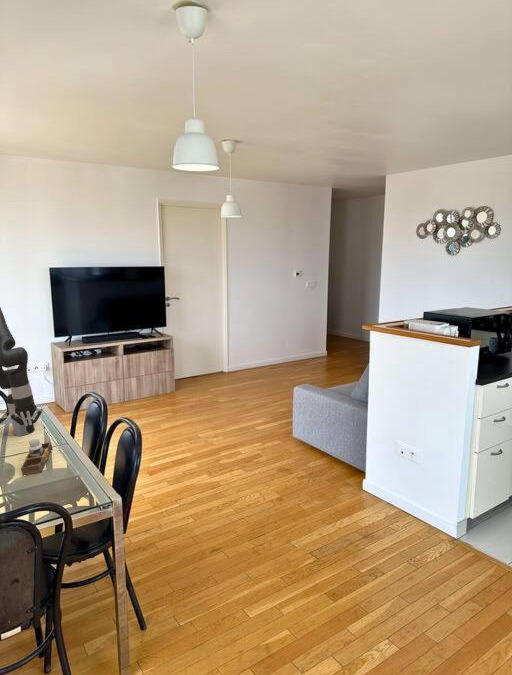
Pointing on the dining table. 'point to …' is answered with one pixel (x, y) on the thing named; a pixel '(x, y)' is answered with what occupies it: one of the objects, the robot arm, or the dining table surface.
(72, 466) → the dining table surface
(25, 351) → the robot arm
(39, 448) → the pill bottle
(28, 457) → the rack
